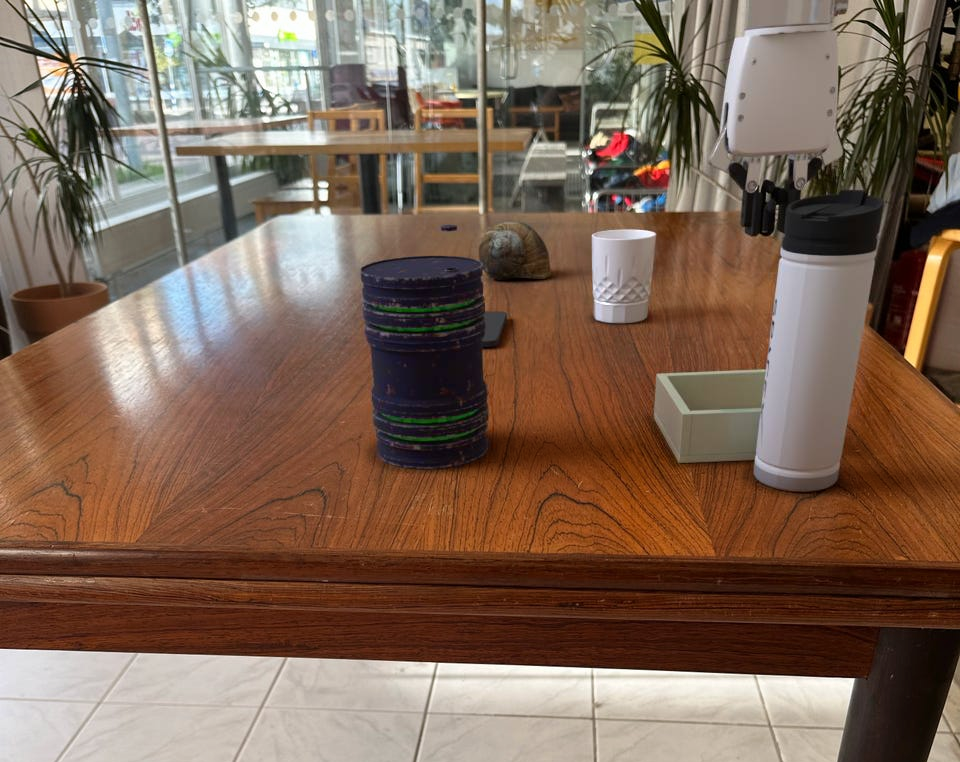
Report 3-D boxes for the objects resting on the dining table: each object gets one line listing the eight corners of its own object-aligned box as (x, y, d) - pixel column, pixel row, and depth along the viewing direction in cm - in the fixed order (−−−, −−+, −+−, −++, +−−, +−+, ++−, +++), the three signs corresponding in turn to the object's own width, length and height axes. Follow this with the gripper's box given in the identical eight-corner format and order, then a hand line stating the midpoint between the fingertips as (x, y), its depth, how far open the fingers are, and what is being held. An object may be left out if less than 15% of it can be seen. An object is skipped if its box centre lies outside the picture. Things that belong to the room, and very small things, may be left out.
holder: (779, 413, 86) (785, 368, 84) (820, 457, 77) (828, 408, 74) (653, 418, 87) (656, 373, 84) (678, 463, 77) (682, 414, 74)
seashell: (476, 284, 143) (474, 227, 139) (482, 272, 151) (480, 218, 147) (551, 282, 142) (551, 225, 138) (552, 271, 150) (552, 216, 146)
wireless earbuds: (749, 231, 98) (751, 177, 95) (773, 228, 98) (776, 175, 95) (764, 241, 92) (767, 184, 89) (790, 238, 92) (794, 181, 89)
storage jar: (352, 456, 81) (327, 230, 71) (421, 423, 88) (406, 213, 78) (446, 477, 76) (433, 237, 66) (511, 440, 83) (507, 218, 73)
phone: (434, 341, 110) (451, 311, 123) (434, 348, 111) (451, 318, 123) (497, 341, 109) (508, 311, 122) (497, 348, 110) (508, 317, 123)
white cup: (619, 308, 126) (622, 227, 120) (664, 317, 120) (669, 233, 115) (576, 318, 121) (578, 235, 116) (621, 328, 116) (625, 241, 111)
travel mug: (852, 473, 73) (903, 191, 63) (815, 499, 69) (862, 203, 59) (778, 456, 77) (814, 187, 67) (738, 480, 73) (770, 197, 63)
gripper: (862, 12, 89) (836, 224, 98) (690, 23, 89) (680, 233, 98) (893, 7, 82) (861, 234, 92) (707, 19, 83) (694, 244, 92)
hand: (767, 231), depth 95 cm, fingers closed on wireless earbuds, 2 cm apart
